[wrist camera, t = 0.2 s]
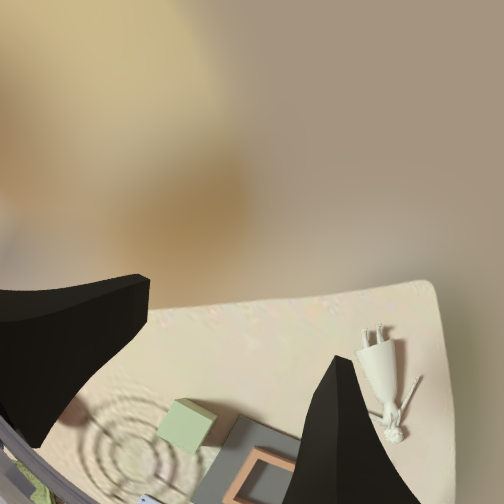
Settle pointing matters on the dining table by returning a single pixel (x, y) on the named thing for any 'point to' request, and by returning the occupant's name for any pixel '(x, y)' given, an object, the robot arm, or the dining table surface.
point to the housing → (250, 467)
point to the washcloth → (37, 487)
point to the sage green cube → (186, 425)
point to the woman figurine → (383, 381)
